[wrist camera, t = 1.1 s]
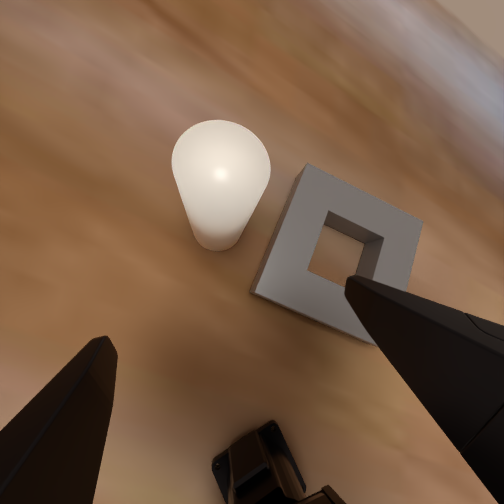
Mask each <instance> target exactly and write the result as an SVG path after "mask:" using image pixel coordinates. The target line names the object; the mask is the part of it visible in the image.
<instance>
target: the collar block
mask: <svg viewBox="0 0 504 504" xmlns="http://www.w3.org/2000/svg"><path fill="white" fill-rule="evenodd" d="M323 224H325V225H327V226H329V227H332V228H334V229H336V230H338V231H340V232H342V233H344V234H346V235H348V236H350V237H352V238H354V239H357V240H359V241H361V242H363V243H365V245H364V249H363V252H362V255H361V258H360V262H359V265H358V268H357V272H356V275H359V276H362V277H365V278H368V279H371V280H374V281H377V282H379V283H382V284H385V285H388V286H391V287H394V288H396V289H399V290H402V291H405V292H406V289H407V285H408V281H409V277H410V273H411V269H412V265H413V261H414V257H415V253H416V249H417V245H418V241H419V237H420V233H421V229H422V225H423V221H422V220H420V219H418V218H416V217H414V216H412V215H410V214H408V213H406V212H404V211H402V210H400V209H398V208H396V207H394V206H392V205H390V204H388V203H386V202H384V201H382V200H380V199H378V198H376V197H374V196H372V195H370V194H368V193H366V192H364V191H362V190H360V189H358V188H356V187H355V186H353V185H351V184H349V183H347V182H345V181H343V180H341V179H339V178H337V177H335V176H333V175H331V174H329V173H327V172H325V171H323V170H321V169H319V168H317V167H315V166H313V165H311V164H309V163H307V164H306V165H305V167H304V168H303V169H302V171H301V172H300V173H299V175H298V176H297V177H296V180H295V182H294V185H293V187H292V189H291V192H290V194H289V197H288V199H287V202H286V204H285V206H284V209H283V211H282V214H281V216H280V219H279V221H278V223H277V226H276V228H275V231H274V233H273V236H272V238H271V240H270V243H269V245H268V248H267V250H266V253H265V255H264V257H263V260H262V262H261V265H260V267H259V270H258V272H257V274H256V277H255V279H254V282H253V284H252V287H251V289H250V291H249V292H250V293H252V294H255V295H257V296H259V297H262V298H264V299H266V300H269V301H271V302H273V303H275V304H278V305H280V306H282V307H285V308H287V309H289V310H292V311H294V312H296V313H298V314H301V315H303V316H305V317H308V318H310V319H312V320H315V321H317V322H319V323H322V324H324V325H326V326H328V327H331V328H333V329H335V330H338V331H340V332H342V333H345V334H347V335H349V336H352V337H354V338H356V339H358V340H361V341H363V342H365V343H368V344H370V345H373V346H376V347H378V346H377V344H376V343H375V342H374V340H373V339H372V338H371V337H370V335H369V334H368V333H367V331H366V330H365V328H364V327H363V325H362V324H361V322H360V321H359V319H358V317H357V316H356V314H355V313H354V311H353V309H352V308H351V306H350V304H349V303H348V301H347V300H346V298H345V295H344V290H345V288H344V287H342V286H340V285H338V284H336V283H333V282H331V281H329V280H327V279H325V278H322V277H320V276H318V275H316V274H314V273H311V272H309V271H307V269H308V266H309V263H310V260H311V257H312V255H313V252H314V249H315V246H316V244H317V241H318V238H319V235H320V232H321V230H322V227H323Z"/></svg>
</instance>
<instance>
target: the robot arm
mask: <svg viewBox="0 0 504 504" xmlns="http://www.w3.org/2000/svg"><path fill="white" fill-rule="evenodd" d="M344 295H345V298H346V300H347V301H348V303H349V304H350V306H351V308H352V309H353V311H354V313H355V314H356V316H357V317H358V319H359V321H360V322H361V324H362V325H363V327H364V328H365V330H366V331H367V333H368V334H369V335H370V337H371V338H372V339H373V340H374V342H375V343H376V344H377V346H378V347H379V348H380V350H381V351H382V352H383V353H384V355H385V356H386V357H387V359H388V360H389V361H390V363H391V364H392V365H393V367H394V368H395V369H396V370H397V372H398V373H399V374H400V376H401V377H402V378H403V380H404V381H405V382H406V383H407V385H408V386H409V387H410V389H411V390H412V391H413V393H414V394H415V395H416V397H417V398H418V399H419V400H420V402H421V403H422V404H423V406H424V407H425V408H426V410H427V411H428V412H429V413H430V415H431V416H432V417H433V419H434V420H435V421H436V423H437V424H438V425H439V427H440V428H441V429H442V430H443V432H444V433H445V434H446V436H447V437H448V438H449V440H450V441H451V442H452V443H453V445H454V446H455V447H456V449H457V450H458V451H459V452H460V454H461V455H462V457H463V458H464V459H465V461H466V462H467V463H468V465H469V466H470V467H471V469H472V470H473V471H474V472H475V474H476V475H477V476H478V478H479V479H480V480H481V482H482V483H483V484H484V485H485V487H486V488H487V489H488V491H489V492H490V493H491V495H492V496H493V497H494V498H495V500H496V501H497V502H498V504H504V326H503V325H500V324H497V323H494V322H491V321H488V320H485V319H482V318H479V317H476V316H474V315H471V314H468V313H463V312H462V311H459V310H456V309H454V308H451V307H448V306H445V305H442V304H439V303H436V302H434V301H431V300H428V299H425V298H422V297H419V296H416V295H414V294H411V293H408V292H405V291H402V290H399V289H396V288H394V287H391V286H388V285H385V284H382V283H379V282H377V281H374V280H371V279H368V278H365V277H362V276H359V275H354V276H349V277H348V278H347V279H346V285H345V290H344ZM117 359H118V355H117V351H116V349H115V347H114V346H113V344H112V342H111V340H110V338H109V337H108V336H101V337H97V338H93V339H92V340H90V341H89V342H88V343H87V344H86V345H85V346H84V347H83V348H82V349H81V350H80V351H79V352H78V353H77V355H76V356H75V357H74V358H73V359H72V360H71V361H70V362H69V363H68V364H67V365H66V366H65V367H64V368H63V369H62V370H61V371H60V372H59V373H58V374H57V375H56V376H55V377H54V378H53V379H52V380H51V381H50V382H49V383H48V384H47V385H46V386H45V387H44V388H43V389H42V390H41V391H40V392H39V393H38V394H37V395H36V396H35V397H34V398H33V399H32V400H31V401H30V402H29V403H28V404H27V405H26V406H25V407H24V408H23V409H22V410H21V411H20V412H19V413H18V414H17V415H16V416H15V417H14V418H13V419H12V420H11V421H10V422H9V423H8V424H7V425H6V426H5V427H4V428H3V429H2V430H1V431H0V504H92V503H93V499H94V494H95V489H96V484H97V480H98V475H99V470H100V465H101V460H102V456H103V451H104V446H105V441H106V437H107V432H108V427H109V422H110V417H111V413H112V407H113V400H114V390H115V380H116V370H117ZM272 426H275V428H274V429H273V430H271V427H272ZM216 464H220V466H219V467H216V466H215V465H216ZM212 472H213V474H214V476H215V479H216V481H217V483H218V486H219V488H220V490H221V493H222V495H223V497H224V500H225V502H226V504H346V503H345V502H344V501H343V500H342V499H341V498H340V497H339V495H338V494H337V493H336V492H335V491H334V490H333V489H332V488H331V487H330V486H329V485H327V486H324V487H322V490H321V491H319V492H317V493H315V494H312V495H310V496H308V497H306V496H305V494H304V493H305V492H306V485H305V483H304V481H303V478H302V476H301V474H300V472H299V470H298V468H297V465H296V463H295V461H294V459H293V457H292V454H291V452H290V450H289V448H288V446H287V444H286V441H285V439H284V437H283V435H282V433H281V430H280V428H279V426H278V424H277V422H276V421H270V422H268V423H267V424H265V425H264V426H262V427H261V428H259V429H258V430H256V431H252V432H251V433H249V434H248V435H246V436H245V437H243V438H242V439H240V440H239V441H237V442H236V443H234V444H233V445H231V446H230V448H229V449H228V450H226V451H225V452H223V453H222V454H220V455H219V456H217V457H216V458H214V459H213V461H212ZM301 486H302V487H301Z"/></svg>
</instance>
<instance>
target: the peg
mask: <svg viewBox="0 0 504 504" xmlns="http://www.w3.org/2000/svg"><path fill="white" fill-rule="evenodd" d="M172 169H173V174H174V177H175V180H176V183H177V186H178V189H179V192H180V195H181V198H182V201H183V204H184V207H185V210H186V213H187V216H188V219H189V222H190V225H191V228H192V231H193V234H194V237H195V239H196V240H197V242H198V243H199V244H200V245H201V246H202V247H204V248H206V249H208V250H211V251H224V250H227V249H229V248H231V247H232V246H234V245H235V244H236V242H237V241H238V240H239V238H240V236H241V234H242V232H243V230H244V228H245V226H246V224H247V223H248V221H249V219H250V217H251V215H252V213H253V211H254V209H255V207H256V205H257V203H258V202H259V200H260V198H261V196H262V194H263V192H264V190H265V188H266V186H267V184H268V181H269V177H270V160H269V157H268V154H267V151H266V149H265V147H264V145H263V144H262V142H261V141H260V140H259V139H258V138H257V137H256V135H254V134H253V133H252V132H251V131H250V130H248V129H247V128H245V127H243V126H241V125H239V124H236V123H234V122H230V121H224V120H210V121H205V122H201V123H198V124H196V125H194V126H192V127H191V128H189V129H188V130H186V131H185V132H184V133H183V134H182V135H181V137H180V138H179V139H178V141H177V143H176V145H175V147H174V150H173V154H172Z"/></svg>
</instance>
